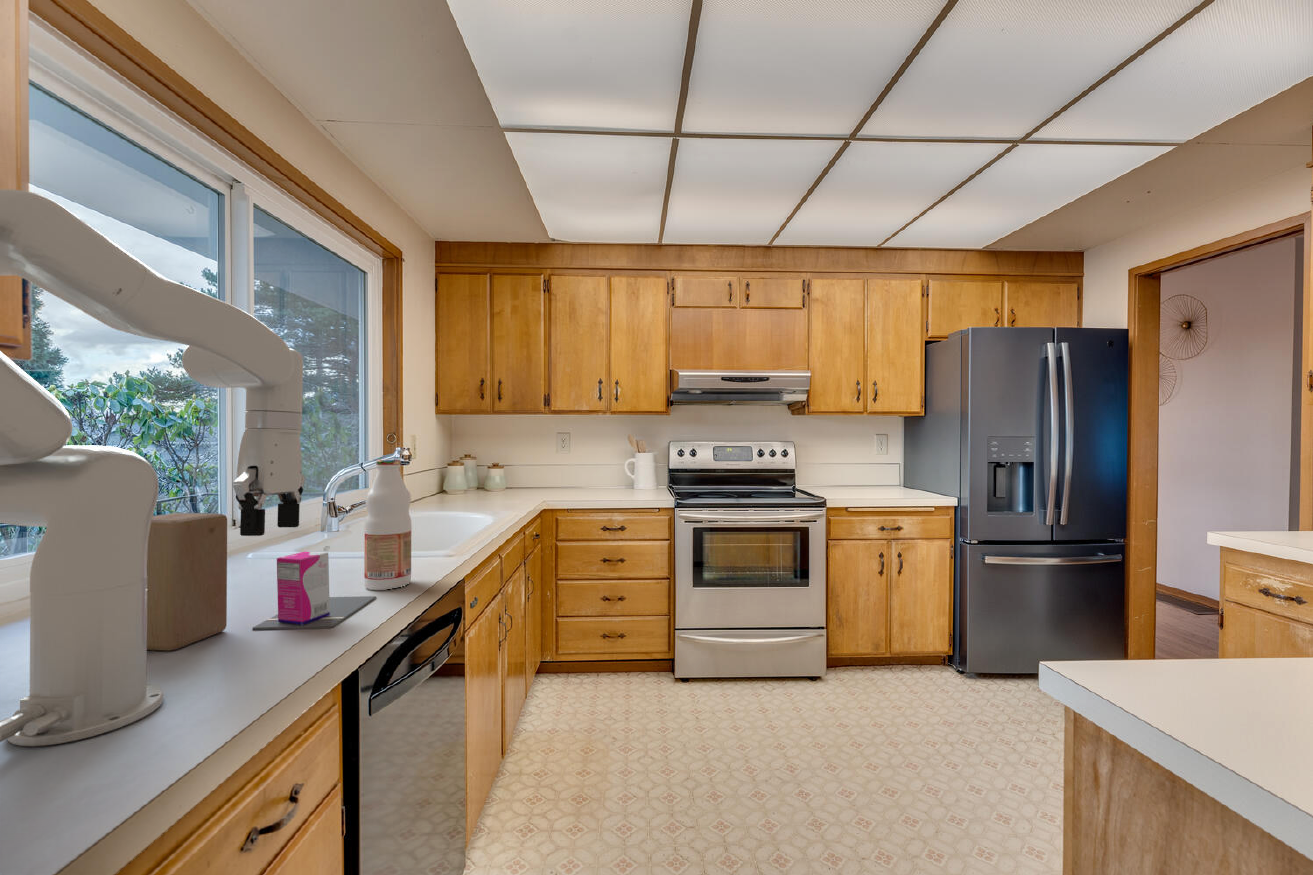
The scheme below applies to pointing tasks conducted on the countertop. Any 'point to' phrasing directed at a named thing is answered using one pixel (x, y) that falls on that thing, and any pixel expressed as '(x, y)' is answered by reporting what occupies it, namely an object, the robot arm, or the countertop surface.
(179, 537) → the wooden block
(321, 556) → the supplement box
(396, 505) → the fruit juice
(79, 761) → the countertop surface
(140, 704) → the robot arm
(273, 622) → the mat
